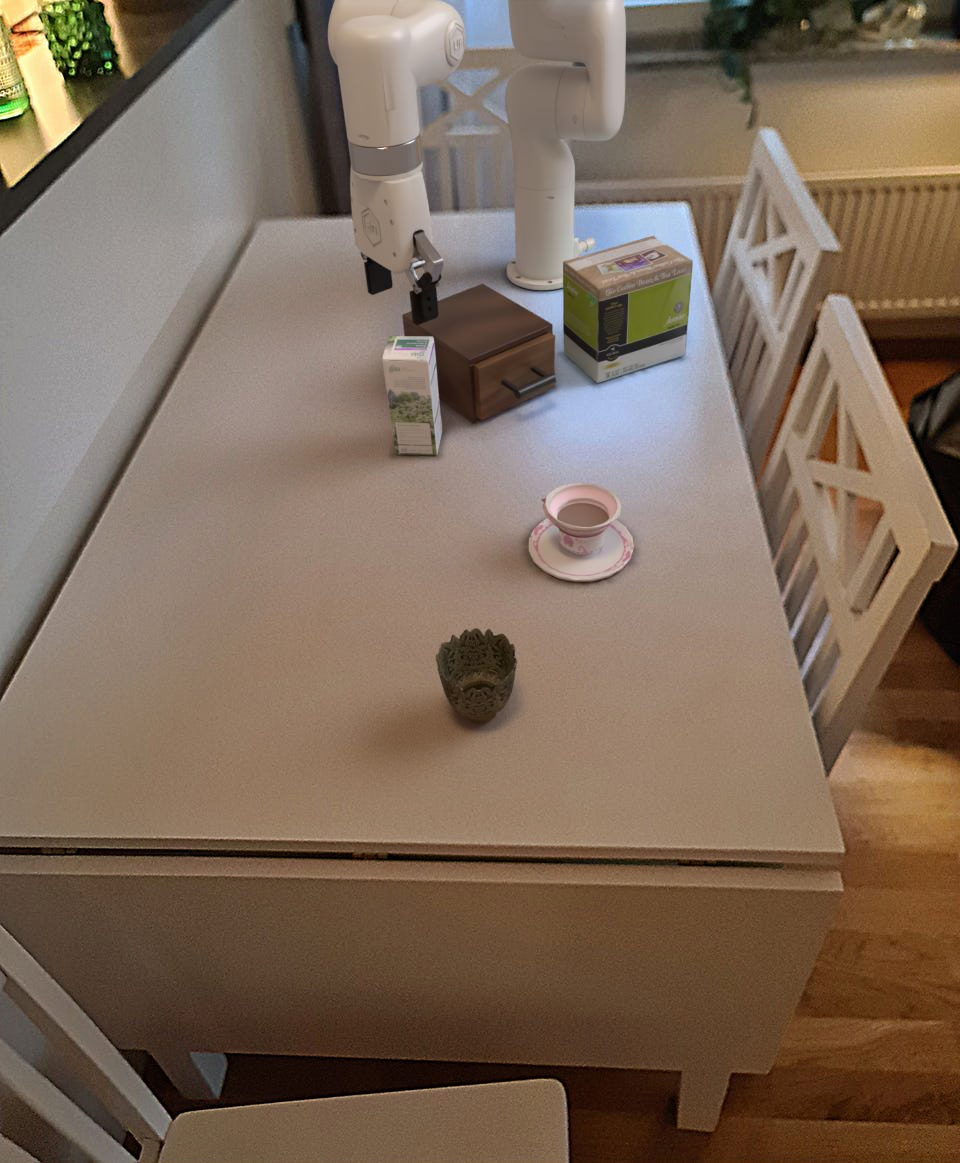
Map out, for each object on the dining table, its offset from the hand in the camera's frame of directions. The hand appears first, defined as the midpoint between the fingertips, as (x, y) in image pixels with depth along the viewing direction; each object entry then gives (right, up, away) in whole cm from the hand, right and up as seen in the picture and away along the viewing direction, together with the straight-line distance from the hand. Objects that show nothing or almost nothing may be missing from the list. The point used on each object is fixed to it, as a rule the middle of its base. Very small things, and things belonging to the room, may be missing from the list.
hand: (402, 305), depth 111 cm
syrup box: (+1, -14, +14) cm, 20 cm away
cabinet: (+9, -4, +24) cm, 26 cm away
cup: (+9, -45, -19) cm, 50 cm away
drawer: (+11, -5, +21) cm, 24 cm away
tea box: (+30, 0, +27) cm, 40 cm away
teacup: (+21, -29, -2) cm, 35 cm away
